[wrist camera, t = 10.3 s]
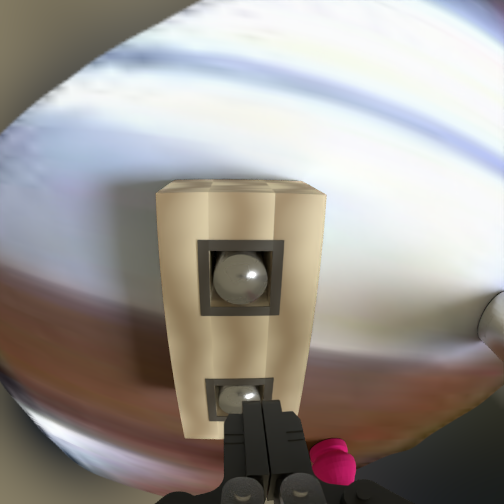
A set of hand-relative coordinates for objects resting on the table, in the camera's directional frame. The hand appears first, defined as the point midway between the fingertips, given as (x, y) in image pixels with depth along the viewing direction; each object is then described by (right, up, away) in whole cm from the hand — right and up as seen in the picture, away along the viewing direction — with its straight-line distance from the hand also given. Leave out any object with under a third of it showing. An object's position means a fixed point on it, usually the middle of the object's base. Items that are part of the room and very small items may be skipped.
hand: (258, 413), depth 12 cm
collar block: (-2, +1, +22) cm, 22 cm away
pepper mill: (+12, -26, +33) cm, 44 cm away
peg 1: (-2, +7, +19) cm, 21 cm away
